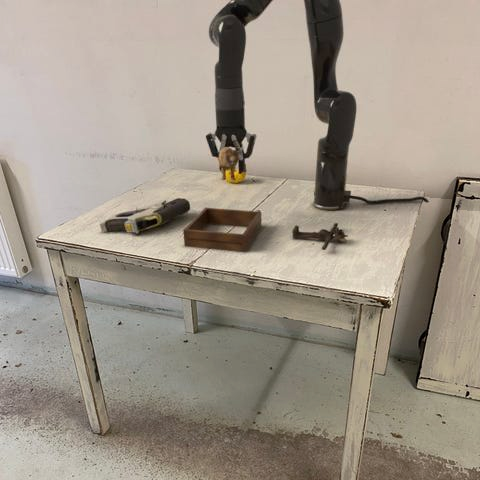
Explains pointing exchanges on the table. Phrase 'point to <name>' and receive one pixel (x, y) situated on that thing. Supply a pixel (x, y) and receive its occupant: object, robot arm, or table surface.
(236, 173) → the duckling
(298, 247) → the table surface
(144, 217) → the toy blaster
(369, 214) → the table surface
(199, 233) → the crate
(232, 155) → the lion figurine
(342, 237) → the brown humanoid figurine
